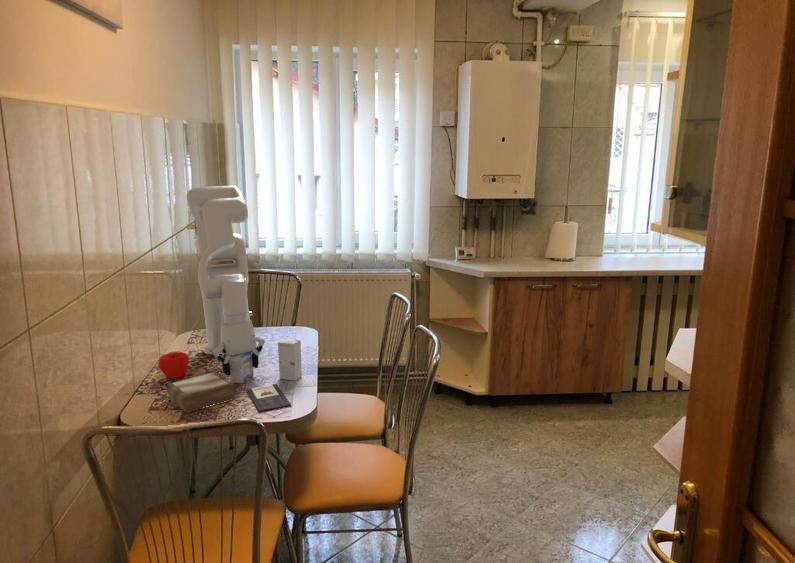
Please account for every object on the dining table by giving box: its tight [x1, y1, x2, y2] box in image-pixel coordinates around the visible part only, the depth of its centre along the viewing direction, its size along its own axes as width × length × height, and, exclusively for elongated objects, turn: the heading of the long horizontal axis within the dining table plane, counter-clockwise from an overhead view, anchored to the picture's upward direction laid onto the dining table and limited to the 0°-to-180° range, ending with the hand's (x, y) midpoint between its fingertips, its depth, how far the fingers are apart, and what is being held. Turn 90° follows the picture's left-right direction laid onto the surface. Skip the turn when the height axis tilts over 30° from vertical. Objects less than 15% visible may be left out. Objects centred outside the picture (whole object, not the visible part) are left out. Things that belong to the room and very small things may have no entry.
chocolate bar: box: [246, 383, 292, 413], centre depth 173 cm, size 9×1×18 cm
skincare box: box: [277, 338, 303, 381], centre depth 187 cm, size 6×4×12 cm
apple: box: [158, 351, 189, 380], centre depth 192 cm, size 9×9×8 cm
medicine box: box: [228, 352, 254, 384], centre depth 188 cm, size 8×4×9 cm, turn 169°
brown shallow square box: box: [167, 371, 235, 414], centre depth 173 cm, size 14×14×5 cm
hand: (241, 370), depth 188 cm, fingers closed on medicine box, 9 cm apart
